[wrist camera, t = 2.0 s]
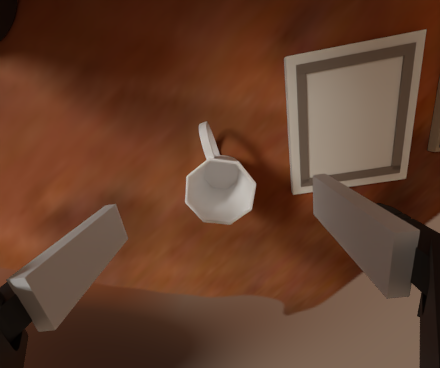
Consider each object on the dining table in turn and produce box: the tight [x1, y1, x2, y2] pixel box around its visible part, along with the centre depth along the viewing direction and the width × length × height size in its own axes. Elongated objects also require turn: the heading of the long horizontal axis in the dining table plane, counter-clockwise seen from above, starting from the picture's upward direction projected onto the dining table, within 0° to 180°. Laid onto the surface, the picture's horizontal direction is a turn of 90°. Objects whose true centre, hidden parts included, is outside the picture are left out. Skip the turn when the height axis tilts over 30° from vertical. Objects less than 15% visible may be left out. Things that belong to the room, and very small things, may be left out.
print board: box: [284, 29, 427, 195], centre depth 24 cm, size 16×14×1 cm
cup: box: [185, 121, 256, 225], centre depth 23 cm, size 7×10×8 cm
